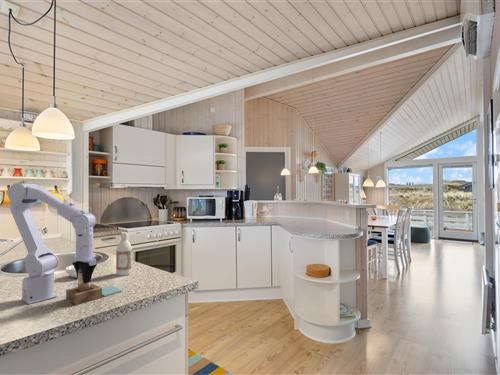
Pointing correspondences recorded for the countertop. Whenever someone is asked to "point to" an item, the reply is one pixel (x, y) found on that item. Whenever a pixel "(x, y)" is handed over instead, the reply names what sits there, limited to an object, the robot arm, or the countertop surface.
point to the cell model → (71, 271)
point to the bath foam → (124, 256)
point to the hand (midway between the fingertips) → (84, 281)
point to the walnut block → (83, 294)
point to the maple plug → (82, 283)
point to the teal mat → (110, 291)
